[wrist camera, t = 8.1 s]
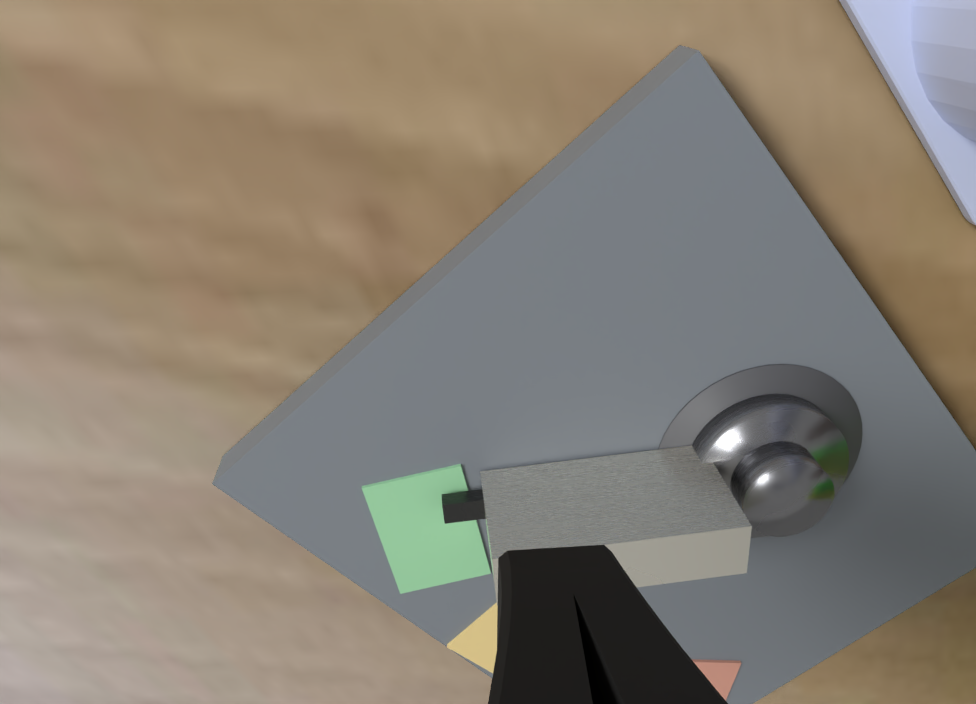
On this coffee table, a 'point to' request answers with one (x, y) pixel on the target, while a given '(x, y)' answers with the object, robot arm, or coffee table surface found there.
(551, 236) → the tuner board
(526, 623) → the robot arm
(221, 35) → the coffee table surface
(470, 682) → the coffee table surface
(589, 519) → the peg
